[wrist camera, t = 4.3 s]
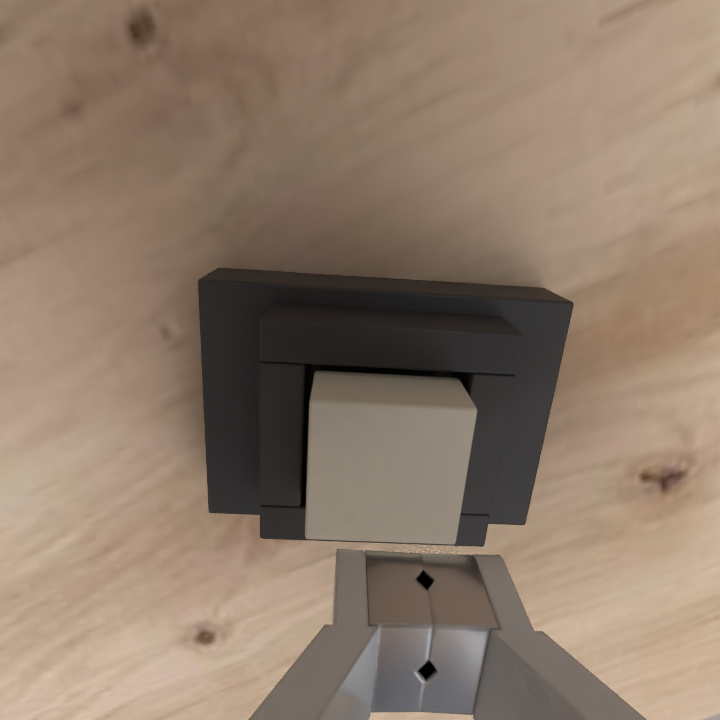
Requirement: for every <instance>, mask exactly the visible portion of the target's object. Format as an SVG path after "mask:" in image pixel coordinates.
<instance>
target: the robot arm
mask: <svg viewBox="0 0 720 720" xmlns="http://www.w3.org/2000/svg"><path fill="white" fill-rule="evenodd" d="M370 712H432V713H450V714H468V715H474V716H473V718H474V720H646V719H645V718H644V717H643V716H642V715H641V714H639V713H638V712H637V711H636V710H635V709H634V708H632V707H631V706H630V705H629V704H628V703H626V702H625V701H624V700H623V699H622V698H621V697H619V696H618V695H617V694H616V693H615V692H614V691H612V690H611V689H610V688H609V687H608V686H606V685H605V684H604V683H603V682H602V681H601V680H599V679H598V678H597V677H596V676H595V675H594V674H592V673H591V672H590V671H589V670H588V669H586V668H585V667H584V666H583V665H582V664H581V663H579V662H578V661H577V660H576V659H575V658H574V657H572V656H571V655H570V654H569V653H568V652H566V651H565V650H564V649H563V648H562V647H561V646H559V645H558V644H557V643H556V642H555V641H553V640H552V639H551V638H550V637H549V636H548V635H546V634H545V633H544V632H543V631H534V630H533V627H532V625H531V623H530V620H529V618H528V616H527V613H526V611H525V609H524V606H523V604H522V602H521V599H520V597H519V595H518V592H517V590H516V588H515V585H514V583H513V581H512V578H511V576H510V574H509V571H508V569H507V567H506V564H505V562H504V560H503V558H502V557H500V556H499V555H452V554H419V553H402V552H386V551H370V550H365V552H364V551H362V550H345V549H337V554H336V567H335V583H334V600H333V616H332V625H324V626H323V628H322V629H321V630H320V631H319V633H318V634H317V635H316V636H315V638H314V639H313V640H312V641H311V643H310V644H309V645H308V646H307V648H306V649H305V650H304V651H303V653H302V654H301V655H300V656H299V657H298V659H297V660H296V661H295V662H294V664H293V665H292V666H291V667H290V669H289V670H288V671H287V672H286V674H285V675H284V676H283V677H282V679H281V680H280V681H279V682H278V684H277V685H276V686H275V687H274V688H273V690H272V691H271V692H270V693H269V695H268V696H267V697H266V698H265V700H264V701H263V702H262V703H261V705H260V706H259V707H258V708H257V710H256V711H255V712H254V713H253V715H252V716H251V717H250V718H249V720H368V719H369V717H370Z"/></svg>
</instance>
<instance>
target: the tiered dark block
mask: <svg viewBox="0 0 720 720" xmlns="http://www.w3.org/2000/svg"><path fill="white" fill-rule="evenodd" d="M198 293H199V314H200V336H201V357H202V379H203V400H204V422H205V443H206V464H207V486H208V507H209V512H210V513H224V514H250V515H260V537H261V538H262V539H288V540H315V541H343V542H370V543H398V544H425V545H452V546H480V547H482V546H484V543H485V538H486V532H487V527H488V524H509V525H525V523H526V518H527V514H528V509H529V505H530V500H531V496H532V491H533V487H534V482H535V478H536V473H537V468H538V464H539V459H540V455H541V450H542V446H543V441H544V437H545V432H546V428H547V423H548V418H549V414H550V409H551V405H552V400H553V396H554V391H555V387H556V382H557V378H558V373H559V369H560V364H561V359H562V355H563V350H564V346H565V341H566V337H567V332H568V328H569V323H570V319H571V314H572V309H573V302H571V301H569V300H567V299H565V298H563V297H561V296H559V295H557V294H555V293H553V292H551V291H549V290H547V289H545V288H533V287H517V286H501V285H485V284H469V283H453V282H437V281H421V280H405V279H388V278H372V277H356V276H340V275H324V274H308V273H292V272H276V271H260V270H244V269H228V268H217V269H215V270H214V271H212V272H210V273H209V274H207V275H206V276H204V277H202V278H201V279H199V280H198ZM315 371H335V372H354V373H373V374H392V375H410V376H429V377H448V378H458V379H459V380H460V381H461V383H462V385H463V386H464V388H465V390H466V391H467V393H468V395H469V396H470V398H471V400H472V401H473V403H474V405H475V406H476V408H477V415H476V421H475V428H474V434H473V440H472V446H471V452H470V458H469V464H468V470H467V476H466V482H465V489H464V495H463V501H462V507H461V513H460V519H459V525H458V531H457V537H456V542H455V544H427V543H400V542H372V541H345V540H317V539H306V537H305V516H306V487H307V458H308V429H309V402H310V396H311V390H312V385H313V379H314V373H315Z"/></svg>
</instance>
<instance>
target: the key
mask: <svg viewBox="0 0 720 720" xmlns="http://www.w3.org/2000/svg"><path fill="white" fill-rule="evenodd" d="M476 415H477V408H476V406H475V405H474V403H473V401H472V400H471V398H470V396H469V395H468V393H467V391H466V390H465V388H464V386H463V385H462V383H461V381H460V380H459V379H458V378H448V377H429V376H410V375H392V374H373V373H354V372H335V371H315V373H314V379H313V385H312V390H311V396H310V402H309V429H308V458H307V487H306V516H305V537H306V539H317V540H345V541H372V542H400V543H427V544H455V542H456V537H457V531H458V525H459V519H460V513H461V507H462V501H463V495H464V489H465V482H466V476H467V470H468V464H469V458H470V452H471V446H472V440H473V434H474V428H475V421H476Z"/></svg>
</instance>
